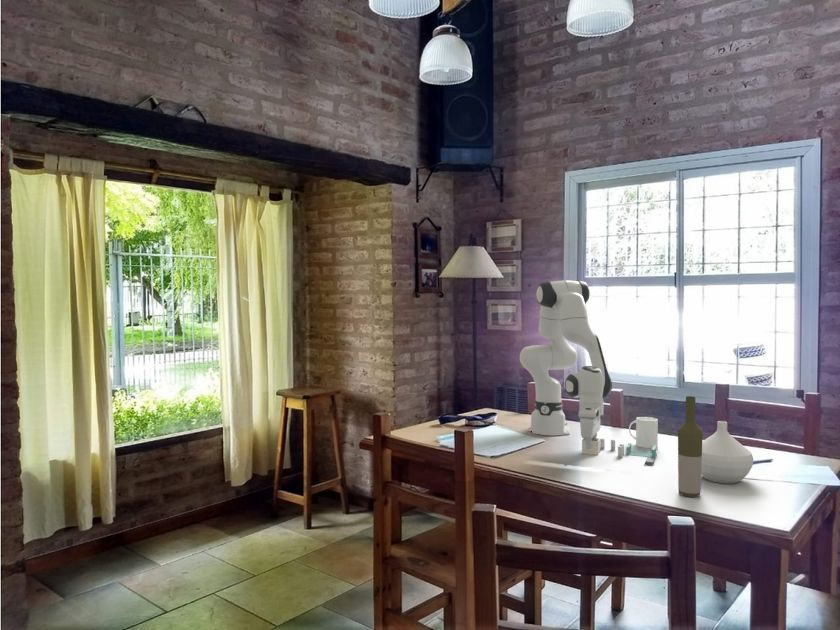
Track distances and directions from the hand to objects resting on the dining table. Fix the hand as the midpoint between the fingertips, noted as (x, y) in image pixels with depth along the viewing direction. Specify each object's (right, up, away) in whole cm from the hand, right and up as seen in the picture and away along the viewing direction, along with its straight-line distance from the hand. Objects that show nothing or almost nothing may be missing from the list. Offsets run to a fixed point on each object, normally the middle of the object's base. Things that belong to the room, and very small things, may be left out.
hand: (591, 445), depth 234 cm
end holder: (+18, -3, -2) cm, 19 cm away
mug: (+24, -4, +13) cm, 28 cm away
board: (+10, -4, 0) cm, 11 cm away
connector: (0, -3, 0) cm, 3 cm away
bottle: (+17, -6, -45) cm, 49 cm away
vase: (+35, -5, -29) cm, 46 cm away
